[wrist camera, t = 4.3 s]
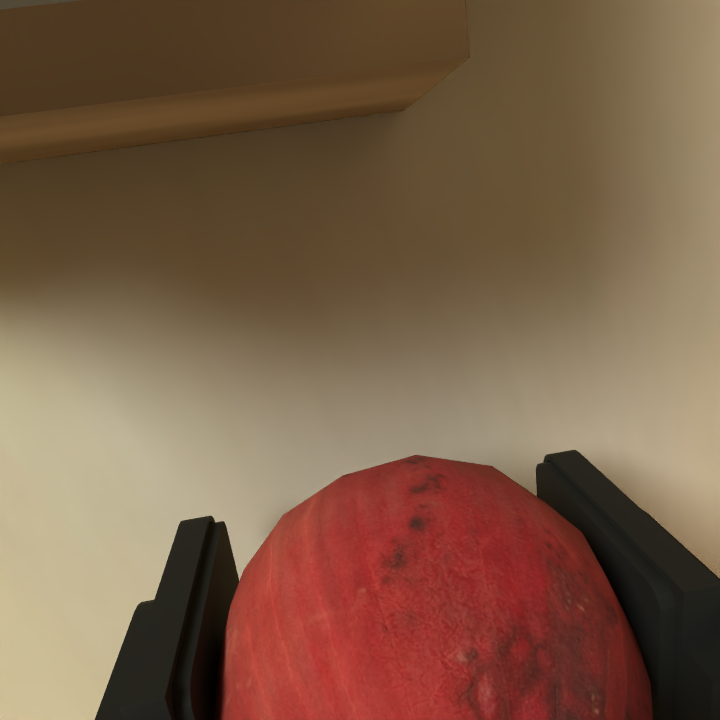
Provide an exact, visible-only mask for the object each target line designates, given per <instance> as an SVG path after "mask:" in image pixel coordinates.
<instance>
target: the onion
mask: <svg viewBox="0 0 720 720" xmlns="http://www.w3.org/2000/svg"><path fill="white" fill-rule="evenodd" d="M214 720H653V710H652V696H651V683H650V680H649V676H648V673H647V670H646V666H645V663H644V660H643V657H642V653H641V650H640V647H639V644H638V640H637V637H636V635H635V633H634V631H633V629H632V627H631V625H630V623H629V621H628V619H627V617H626V615H625V613H624V611H623V609H622V607H621V605H620V603H619V601H618V599H617V597H616V595H615V593H614V591H613V589H612V587H611V585H610V583H609V581H608V579H607V577H606V575H605V573H604V571H603V570H602V568H601V566H600V564H599V562H598V560H597V559H596V557H595V555H594V553H593V551H592V549H591V548H590V546H589V544H588V542H587V540H586V539H585V537H584V535H583V533H582V532H581V531H580V530H578V529H577V528H576V527H575V526H574V525H572V524H571V523H570V522H569V521H568V520H566V519H565V518H564V517H563V516H562V515H560V514H559V513H558V512H557V511H556V510H554V509H553V508H552V507H551V506H550V505H548V504H547V503H545V502H544V501H542V500H541V499H539V498H538V497H537V496H535V495H534V494H532V493H531V492H529V491H528V490H526V489H525V488H523V487H522V486H520V485H519V484H518V483H516V482H515V481H513V480H512V479H510V478H509V477H507V476H506V475H504V474H503V473H502V472H500V471H499V470H497V469H496V468H494V467H493V466H488V465H481V464H474V463H467V462H461V461H454V460H447V459H440V458H433V457H426V456H419V455H414V456H411V457H407V458H404V459H400V460H396V461H393V462H389V463H386V464H382V465H379V466H375V467H372V468H368V469H364V470H361V471H357V472H354V473H350V474H347V475H343V476H342V477H340V478H338V479H337V480H335V481H334V482H332V483H331V484H329V485H328V486H326V487H325V488H323V489H322V490H320V491H319V492H317V493H316V494H314V495H313V496H311V497H310V498H308V499H307V500H305V501H304V502H302V503H301V504H299V505H298V506H296V507H295V508H293V509H292V510H290V511H289V512H287V513H286V514H284V515H283V516H282V518H281V519H280V520H279V522H278V523H277V525H276V526H275V527H274V529H273V530H272V532H271V533H270V534H269V536H268V537H267V538H266V540H265V541H264V543H263V544H262V545H261V547H260V548H259V550H258V551H257V552H256V554H255V555H254V556H253V558H252V559H251V561H250V562H249V563H248V565H247V566H246V568H245V569H244V571H243V573H242V576H241V579H240V581H239V584H238V587H237V589H236V592H235V595H234V597H233V600H232V603H231V606H230V610H229V615H228V619H227V624H226V629H225V633H224V638H223V642H222V647H221V652H220V656H219V661H218V666H217V674H216V688H215V702H214Z"/></svg>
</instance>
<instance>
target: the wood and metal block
mask: <svg viewBox="0 0 720 720" xmlns="http://www.w3.org/2000/svg"><path fill="white" fill-rule="evenodd" d="M469 57H470V56H469V42H468V28H467V15H466V1H465V0H0V164H3V163H10V162H18V161H25V160H33V159H40V158H48V157H56V156H63V155H71V154H78V153H86V152H93V151H101V150H108V149H116V148H123V147H131V146H139V145H146V144H154V143H161V142H169V141H176V140H184V139H191V138H199V137H206V136H214V135H222V134H229V133H237V132H244V131H252V130H259V129H267V128H274V127H282V126H289V125H297V124H304V123H312V122H320V121H327V120H335V119H342V118H350V117H357V116H365V115H372V114H380V113H387V112H395V111H403V110H405V109H406V108H407V107H409V106H410V105H411V104H412V103H414V102H415V101H416V100H417V99H419V98H420V97H421V96H422V95H423V94H425V93H426V92H427V91H428V90H430V89H431V88H432V87H433V86H435V85H436V84H437V83H438V82H439V81H441V80H442V79H443V78H444V77H446V76H447V75H448V74H449V73H451V72H452V71H453V70H454V69H456V68H457V67H458V66H459V65H460V64H462V63H463V62H464V61H465V60H467V59H468V58H469Z"/></svg>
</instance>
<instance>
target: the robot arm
mask: <svg viewBox="0 0 720 720" xmlns="http://www.w3.org/2000/svg"><path fill="white" fill-rule="evenodd" d="M536 484H537V497H538V498H539V499H541V500H542V501H544V502H545V503H547V504H548V505H550V506H551V507H552V508H553V509H554V510H556V511H557V512H558V513H559V514H560V515H562V516H563V517H564V518H565V519H566V520H568V521H569V522H570V523H571V524H572V525H574V526H575V527H576V528H577V529H578V530H580V531H581V532H582V533H583V535H584V537H585V539H586V540H587V542H588V544H589V546H590V548H591V549H592V551H593V553H594V555H595V557H596V559H597V560H598V562H599V564H600V566H601V568H602V570H603V571H604V573H605V575H606V577H607V579H608V581H609V583H610V585H611V587H612V589H613V591H614V593H615V595H616V597H617V599H618V601H619V603H620V605H621V607H622V609H623V611H624V613H625V615H626V617H627V619H628V621H629V623H630V625H631V627H632V629H633V631H634V633H635V635H636V637H637V640H638V644H639V647H640V650H641V653H642V657H643V660H644V663H645V666H646V670H647V673H648V676H649V680H650V683H651V696H652V710H653V720H720V579H719V578H718V577H717V576H716V575H715V574H714V573H713V572H712V571H711V570H709V569H708V568H707V567H706V566H705V565H704V564H703V563H702V562H701V561H700V560H698V559H697V558H696V557H695V556H694V555H693V554H692V553H691V552H690V551H689V550H687V549H686V548H685V547H684V546H683V545H682V544H681V543H680V542H679V541H678V540H676V539H675V538H674V537H673V536H672V535H671V534H670V533H669V532H668V531H667V530H665V529H664V528H663V527H662V526H661V525H660V524H659V523H658V522H657V521H656V520H654V519H653V518H652V517H651V516H650V515H649V514H648V513H646V512H645V511H643V510H642V509H640V508H639V507H638V506H637V505H636V504H635V503H634V502H633V501H632V500H631V499H630V498H628V497H627V496H626V495H625V494H624V493H623V492H622V491H621V490H620V489H619V488H617V487H616V486H615V485H614V484H613V483H612V482H611V481H610V480H609V479H608V478H607V477H605V476H604V475H603V474H602V473H601V472H600V471H599V470H598V469H597V468H596V467H594V466H593V465H592V464H591V463H590V462H589V461H588V460H587V459H586V458H585V457H584V456H582V455H581V454H580V453H579V452H578V451H576V450H570V451H565V452H559V453H554V454H548V455H546V456H545V458H544V463H540V464H538V465H537V467H536ZM238 584H239V578H238V574H237V570H236V565H235V561H234V557H233V553H232V549H231V544H230V540H229V536H228V532H227V528H226V525H225V522H223V521H222V522H217V523H215V520H214V518H213V517H212V516H206V517H201V518H195V519H189V520H184V521H181V522H180V524H179V527H178V530H177V533H176V536H175V539H174V542H173V545H172V548H171V551H170V554H169V557H168V560H167V563H166V566H165V569H164V572H163V575H162V578H161V581H160V584H159V587H158V590H157V594H156V597H155V600H150V601H145V602H141V603H140V604H139V605H138V606H137V608H136V610H135V612H134V614H133V617H132V620H131V622H130V625H129V628H128V631H127V633H126V636H125V639H124V641H123V644H122V647H121V650H120V652H119V655H118V658H117V661H116V663H115V666H114V669H113V671H112V674H111V677H110V680H109V682H108V685H107V688H106V690H105V693H104V696H103V699H102V701H101V704H100V707H99V710H98V712H97V715H96V718H95V720H214V702H215V688H216V674H217V666H218V661H219V656H220V652H221V647H222V642H223V638H224V633H225V629H226V624H227V619H228V615H229V610H230V606H231V603H232V600H233V597H234V595H235V592H236V589H237V587H238Z"/></svg>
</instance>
